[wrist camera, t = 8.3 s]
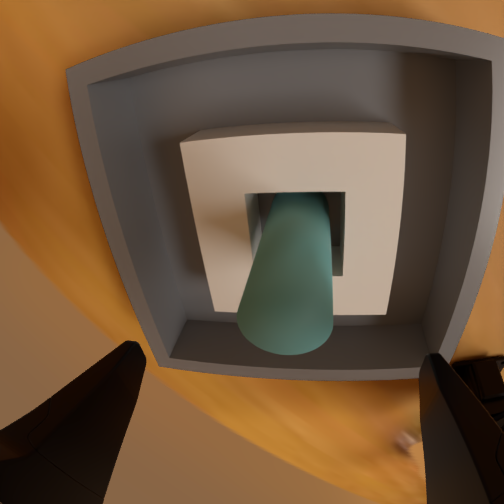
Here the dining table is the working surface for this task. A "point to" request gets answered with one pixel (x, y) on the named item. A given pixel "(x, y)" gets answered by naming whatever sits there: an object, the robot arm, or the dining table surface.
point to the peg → (291, 278)
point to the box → (299, 180)
